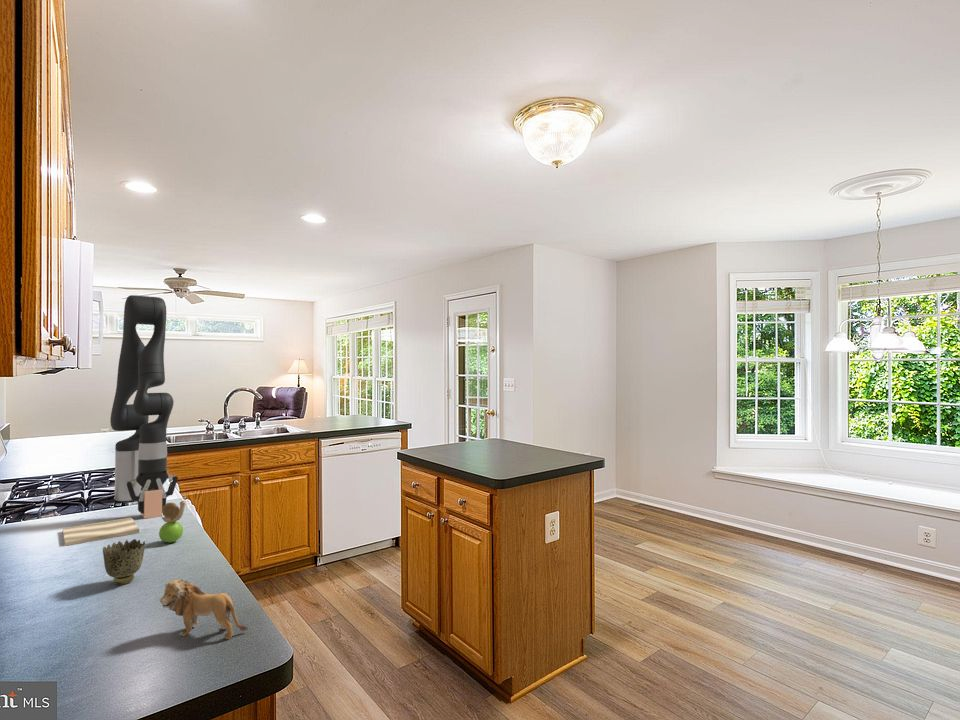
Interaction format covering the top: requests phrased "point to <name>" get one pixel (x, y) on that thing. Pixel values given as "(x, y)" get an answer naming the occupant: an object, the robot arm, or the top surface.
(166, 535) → the snail figurine
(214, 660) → the top surface
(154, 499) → the terracotta block
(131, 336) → the robot arm
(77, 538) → the birch board
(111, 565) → the cup
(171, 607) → the lion figurine
